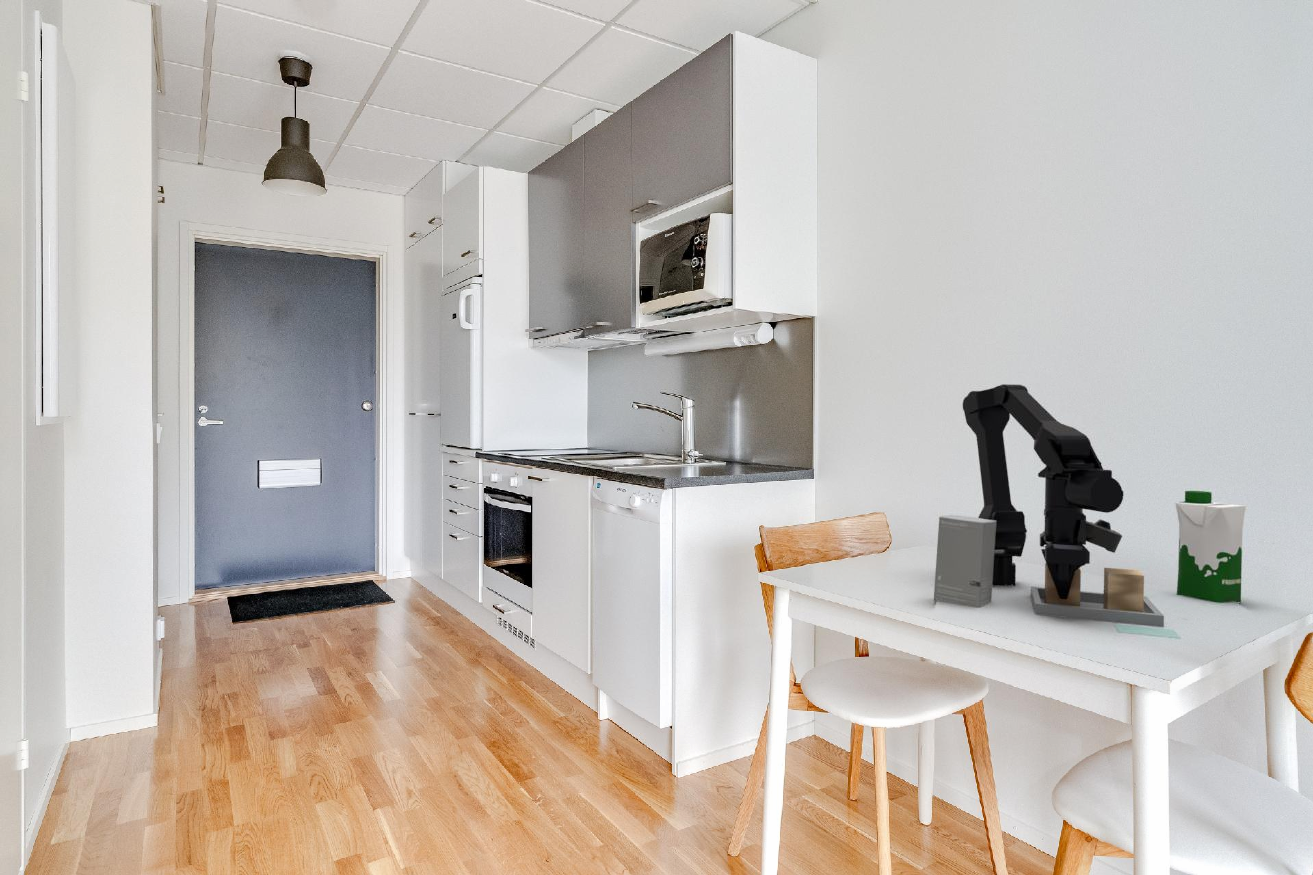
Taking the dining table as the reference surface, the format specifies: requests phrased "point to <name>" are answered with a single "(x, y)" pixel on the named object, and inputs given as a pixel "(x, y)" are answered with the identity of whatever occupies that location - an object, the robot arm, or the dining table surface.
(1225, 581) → the milk carton
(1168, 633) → the teal pad
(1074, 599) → the walnut box
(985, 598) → the skincare box
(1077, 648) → the dining table surface
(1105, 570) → the oak box
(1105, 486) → the robot arm
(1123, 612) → the tray
